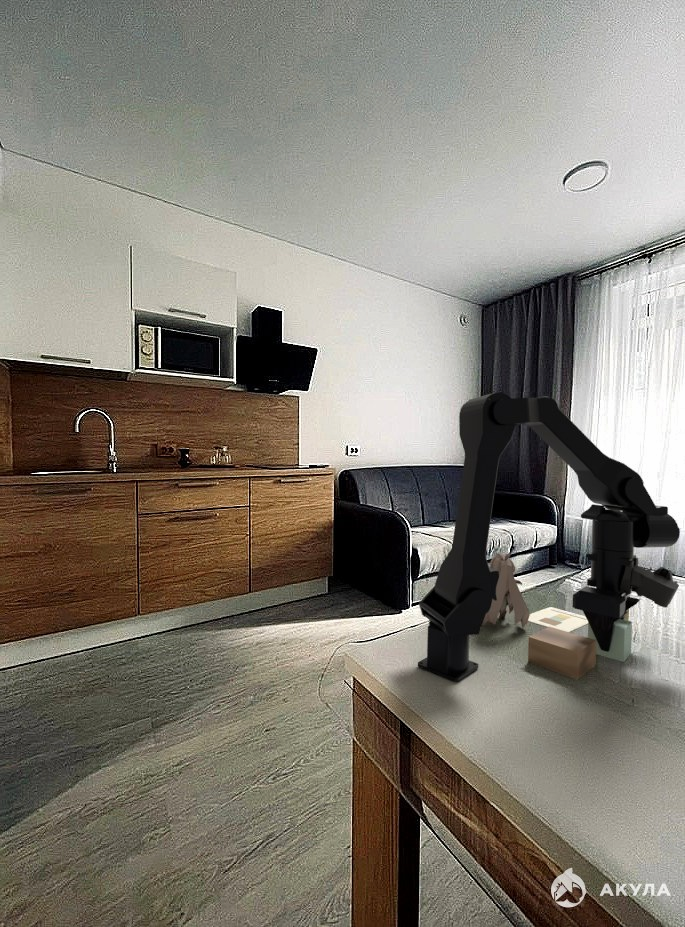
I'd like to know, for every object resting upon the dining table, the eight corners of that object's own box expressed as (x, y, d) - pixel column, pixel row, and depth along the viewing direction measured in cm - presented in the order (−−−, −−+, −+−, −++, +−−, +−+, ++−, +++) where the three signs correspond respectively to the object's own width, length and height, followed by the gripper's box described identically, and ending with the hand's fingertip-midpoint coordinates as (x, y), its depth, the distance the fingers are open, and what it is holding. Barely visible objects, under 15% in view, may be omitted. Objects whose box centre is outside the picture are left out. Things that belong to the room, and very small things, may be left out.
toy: (517, 612, 88) (526, 543, 83) (529, 641, 80) (540, 567, 75) (470, 609, 89) (476, 541, 84) (478, 638, 81) (485, 564, 76)
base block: (577, 681, 62) (578, 652, 62) (527, 663, 67) (528, 636, 67) (595, 666, 66) (596, 640, 66) (548, 651, 72) (548, 626, 72)
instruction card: (566, 633, 79) (566, 632, 79) (519, 618, 86) (519, 617, 86) (596, 620, 86) (596, 619, 86) (550, 607, 93) (550, 606, 93)
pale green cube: (623, 662, 68) (624, 629, 68) (587, 652, 71) (588, 620, 71) (631, 653, 71) (631, 621, 71) (596, 643, 75) (597, 613, 75)
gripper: (663, 565, 59) (660, 684, 59) (683, 549, 72) (680, 645, 72) (572, 552, 67) (569, 657, 67) (605, 539, 80) (603, 626, 80)
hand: (609, 646), depth 71 cm, fingers closed on pale green cube, 5 cm apart
